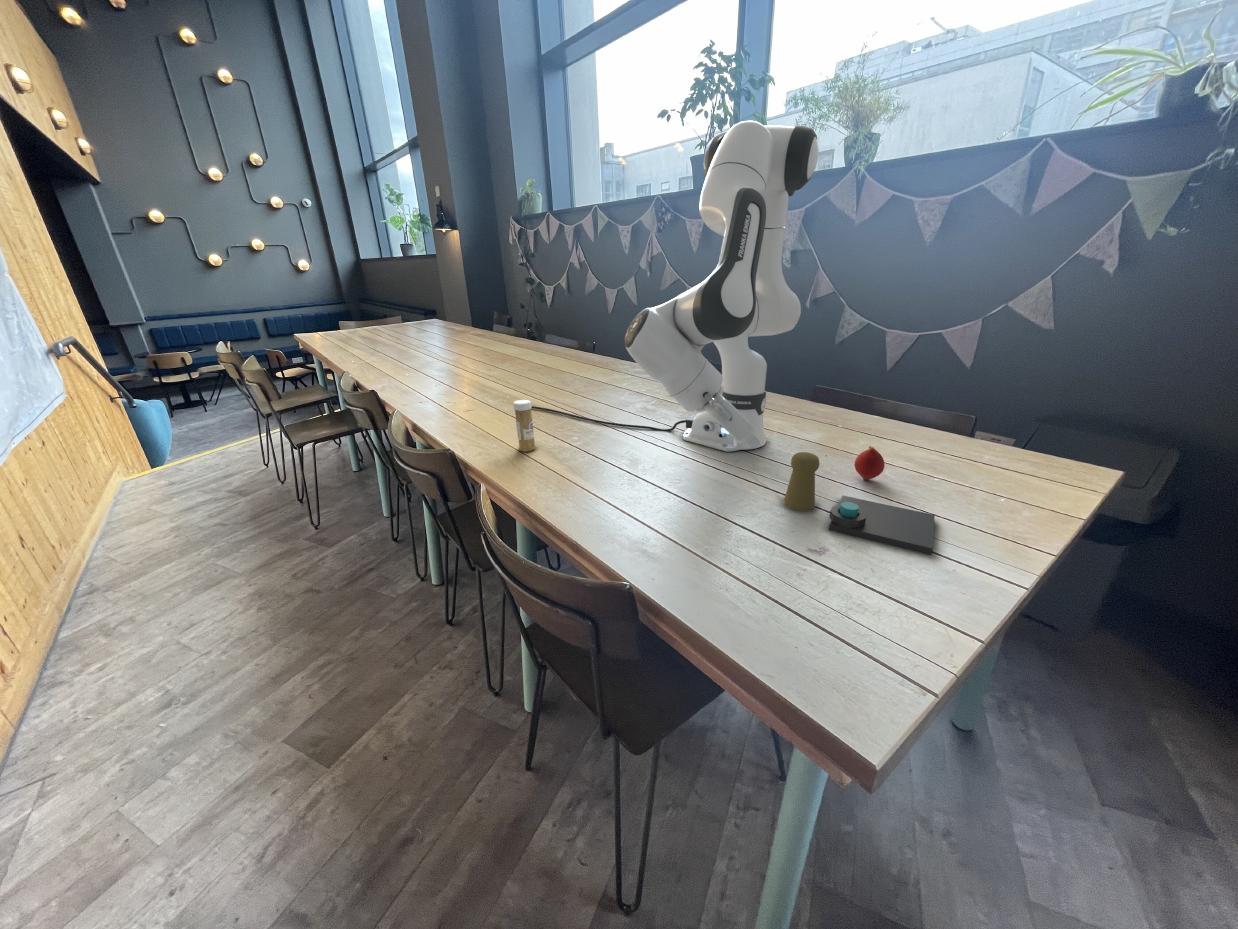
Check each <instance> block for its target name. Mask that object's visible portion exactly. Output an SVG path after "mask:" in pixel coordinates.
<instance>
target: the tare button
mask: <svg viewBox="0 0 1238 929" xmlns="http://www.w3.org/2000/svg"><path fill="white" fill-rule="evenodd" d="M858 510H859V506H858V505H857V504H855V503H851V502H843V503H841V506H840V512H839V513H840V514H841V515H843V516H846V517H857V515H858Z"/></svg>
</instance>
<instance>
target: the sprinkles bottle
mask: <svg viewBox="0 0 1238 929" xmlns="http://www.w3.org/2000/svg"><path fill="white" fill-rule="evenodd" d="M531 401H532V400H529V399H519V400H515V401H514V402H513V410H514V414H515V424H516V432H517V439H518V446H519V447H518V449H519V451H521V452H526V453H527V452H531V451H534V450H535V449H536V441H535V429H534V421H533V414H532V408H531V406H532V402H531Z"/></svg>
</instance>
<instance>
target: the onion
mask: <svg viewBox="0 0 1238 929" xmlns="http://www.w3.org/2000/svg"><path fill="white" fill-rule="evenodd" d="M853 465H854V469H855V471H856V473H857V474H858V475H859V476H860V477H861V478H862V479H863V480H864V481H869V480H872V479H875V478H876V477H879V475H881V474H882V473H883V472H884V470H885V460H884V458H883V456H882V454H881V453H880V452H879V451H878V450H877V449H875V447H874V446H873V445H868V449H866V450H864V451H862V452H860V453H859V454H858V455H857V456H856V457H855V460H854V464H853Z"/></svg>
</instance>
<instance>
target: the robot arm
mask: <svg viewBox="0 0 1238 929" xmlns="http://www.w3.org/2000/svg"><path fill="white" fill-rule="evenodd" d="M819 154H820V151H819V143H818V135H817V133H816V131H815V130H814V128H813V127H812V128H811V127H809V126H805V125H799V124H796V125H795V126H787V125H763V124H762V123H760V122H759V121H756V120H755V121H754V120H744V121H740V122H737V123H735V124H734V125H732V127H730V128H729V129H728V130H725V131H722V132H718V133H717V134H715V135H714V136H713V137H712V138H711V139H710V140H709V142H708V143H707V145H706V148H705V152H704V158H703V175H704V182H703V186H702V190H701V193H700V198H699V209H698V212H699V214H700V217H701V219H702V221H703V223H704V224H705V226H706V227H707V228H708V229H710V230H711V231H712V232H714V233H715V234H717V235H720V236H722V237H723V239H722V243H721V244H722V245H721V248H720V254H719V258H718V259H719V260H718V263H717V265H716V267H715V268H714V270H713V271H712V272H711V274H709V276H707V277H706V278H705V279H704V280H702V282H700V283H697V285H695V286H693V287H691V288H690V289H687V290H686V291H683V292H682V293H680V294H678V295H676V296H675V297H674V298H672V299H670V300H669V301H666V302H664V303H662V304H659V305H656V306H654V307H646V308H644V309H642V310H641V311H640V312H638V313H637V315H636V316H635V317H634V319H633V320H632V321H631V323H630V324H629V326H628V328H627V330H626V332H625V335H624V345H625V349H626V351H627V352H628V354H629V355H630V356H631V358H632V359H633V360H634V361H635V363H636V364H637V365H638V366H639V367H640V368H641V369H642V370H643V371H644V372H645V373H646V374H647V376H649V377H650V378H651V379H652V380H654V381H656V382H658V383H660V384H661V386H662V387H663V388H664V389H665V391H666V393H667V394H668V395H669V396H670V397H671V398H672V399H673V400H674V401H675V402H676V403H678V404H679V406H681V407H682V408H683V409H684V410H685V411H686V412H689V413H692V412H697V413H696V414H691V415H689V416H688V417H687V418H686V419H682V420H679V421H677V422H675V423H674V425H673V426H672V427H670V428H658V427H653V426H648V425H637V424H627V423H617V422H610V421H604V420H600V419H599V420H598V419H594V418H588V417H584V416H580V415H577V414H572V413H569V412H564V411H560V410H557V409H552V408H547V407H541V406H535V405H531V409H535V410H541V411H546V412H552V413H555V414H561V415H565V416H567V417H572V418H576V419H580V420H584V421H588V422H592V423H596V424H597V423H598V424H602V425H609V426H617V427H624V428H625V427H626V428H635V429H645V430H646V429H647V430H652V431H658V432H659V431H660V432H672V431H674V430H675V429H676V427H677V426H678V425H680V424H685V428H686V430H685V431H684V432H683V435H682V439H683V441H687V442H690V443H694V444H697V445H701V446H705V447H708V448H713V449H716V450H719V451H722V452H727V453H731V452H736V451H747V450H753V449H754V450H755V449H758V448H759V449H760V447H764V446H765V445H766V443H767V439H766V434H765V426H764V413H765V410H766V406H767V404H766V402H767V391H766V380H767V370H768V364H767V361H766V359H765V358H764V356H763V355H762V354H760V353H759V352H757V351H755V350H753V349H751V348H750V345H749V338H750V337H751V338H752V337H767V336H770V337H771V336H776V335H780V334H784V333H787V332H791V331H792V330H793V329H795V327H796V326H797V324H798V323H799V320H800V318H801V313H802V304H801V301H800V299H799V297H798V296H797V294H796V293H795V292H794V291H793V290H792V289H790V287H789V285H788V284H787V281H786V279H785V276H784V273H783V272H784V271H783V264H782V263H783V251H784V241H785V234H786V228H787V221H788V220H787V219H788V212H789V197H792V196H794V194H795V192H796V191H799V190H801V189H802V188H803V187H804V186H806V184H807V183H808V182H810V180H811V178H812V175H813V173H815V172H814V171H815V169H816V167H817V165H818V160H819ZM711 343H713V344H714V345H715V347H716V349H717V351H718V353H719V356H720V361H721V372H720V371H719V370H717V368H716V367H715V366H713V364H712V363H711V362H710V361H709V360H708V359H707V358H706V357H705V356H704V355H703V353H702V350H703V349H704V347H705V345H708V344H711Z"/></svg>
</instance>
